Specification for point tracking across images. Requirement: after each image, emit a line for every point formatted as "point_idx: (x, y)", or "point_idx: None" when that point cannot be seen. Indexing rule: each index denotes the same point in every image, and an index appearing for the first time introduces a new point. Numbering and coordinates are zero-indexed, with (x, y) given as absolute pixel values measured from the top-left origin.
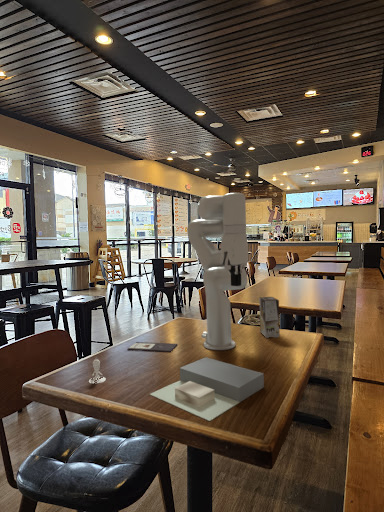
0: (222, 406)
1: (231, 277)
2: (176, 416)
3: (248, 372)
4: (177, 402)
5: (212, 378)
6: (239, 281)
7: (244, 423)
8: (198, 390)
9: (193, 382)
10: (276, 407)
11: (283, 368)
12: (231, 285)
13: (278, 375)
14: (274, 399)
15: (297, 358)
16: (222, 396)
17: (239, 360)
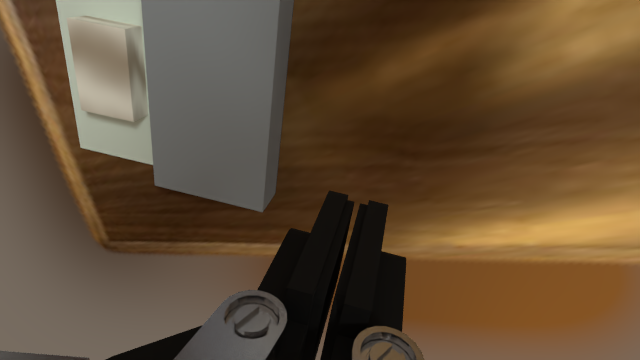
0: (135, 146)
1: (268, 272)
2: (44, 76)
3: (245, 175)
4: None
5: (150, 102)
6: (326, 316)
7: (122, 203)
8: (103, 87)
9: (125, 45)
10: (207, 237)
11: (428, 207)
12: (330, 193)
13: None
14: (234, 227)
15: (546, 228)
16: None
17: (444, 46)
